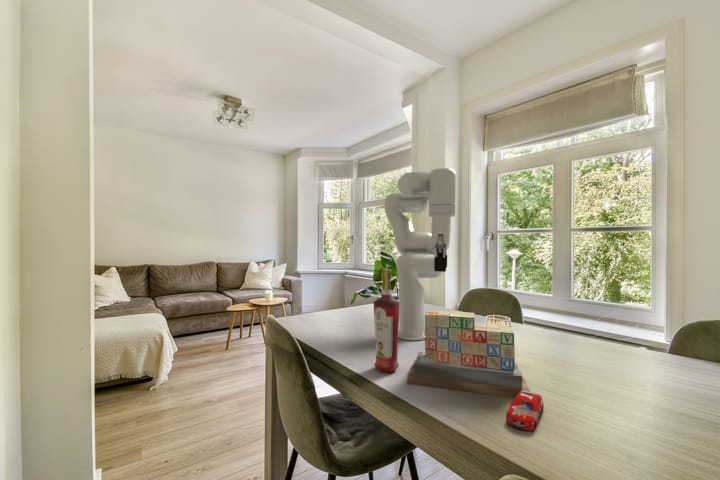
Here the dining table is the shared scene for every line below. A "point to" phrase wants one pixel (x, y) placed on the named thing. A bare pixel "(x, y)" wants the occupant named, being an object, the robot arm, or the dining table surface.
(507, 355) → the stack of blocks
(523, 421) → the race car
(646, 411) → the dining table surface
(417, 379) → the build plinth
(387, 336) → the liquor
